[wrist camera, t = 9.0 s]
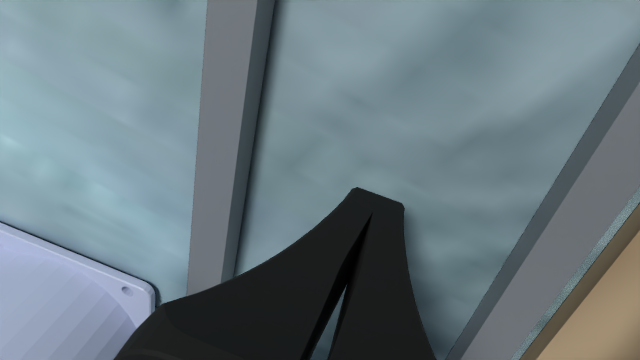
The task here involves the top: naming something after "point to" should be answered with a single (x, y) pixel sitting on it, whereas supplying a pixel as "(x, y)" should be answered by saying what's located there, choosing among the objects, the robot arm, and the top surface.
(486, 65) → the top surface
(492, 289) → the socket channel
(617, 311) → the rack
